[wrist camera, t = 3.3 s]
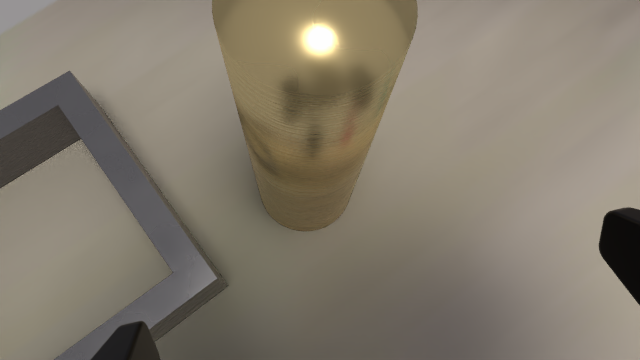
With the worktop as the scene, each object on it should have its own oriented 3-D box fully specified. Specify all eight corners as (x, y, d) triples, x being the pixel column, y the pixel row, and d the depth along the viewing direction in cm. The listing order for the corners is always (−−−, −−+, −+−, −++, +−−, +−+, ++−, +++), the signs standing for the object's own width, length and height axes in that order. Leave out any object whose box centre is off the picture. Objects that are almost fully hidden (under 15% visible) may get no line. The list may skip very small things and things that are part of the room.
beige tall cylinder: (296, 250, 21) (296, 135, 9) (241, 178, 22) (171, -16, 10) (369, 194, 22) (459, 21, 10) (313, 128, 23) (331, -105, 11)
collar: (-15, 470, 18) (-74, 496, 15) (-133, 240, 20) (-202, 225, 18) (228, 285, 20) (217, 278, 18) (97, 103, 23) (69, 70, 20)
